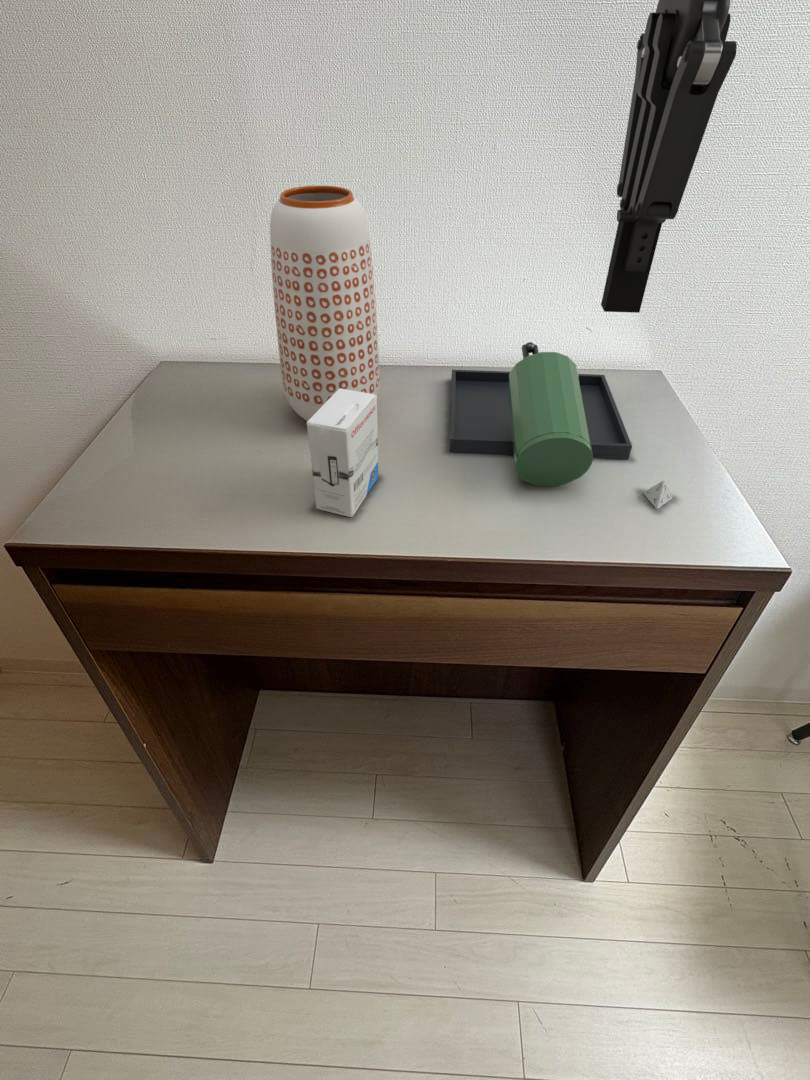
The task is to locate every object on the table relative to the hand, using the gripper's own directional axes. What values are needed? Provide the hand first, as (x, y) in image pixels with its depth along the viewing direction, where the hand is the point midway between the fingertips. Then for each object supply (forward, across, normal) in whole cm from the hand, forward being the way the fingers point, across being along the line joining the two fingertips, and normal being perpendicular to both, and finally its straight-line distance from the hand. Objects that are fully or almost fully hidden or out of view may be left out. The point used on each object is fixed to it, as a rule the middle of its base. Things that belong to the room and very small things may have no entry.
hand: (620, 308), depth 49 cm
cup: (+22, -11, 0) cm, 25 cm away
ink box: (+27, -9, -24) cm, 37 cm away
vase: (+27, -28, -29) cm, 48 cm away
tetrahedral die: (+27, -10, +12) cm, 31 cm away
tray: (+26, -29, -1) cm, 39 cm away
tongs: (+22, -25, -1) cm, 33 cm away
